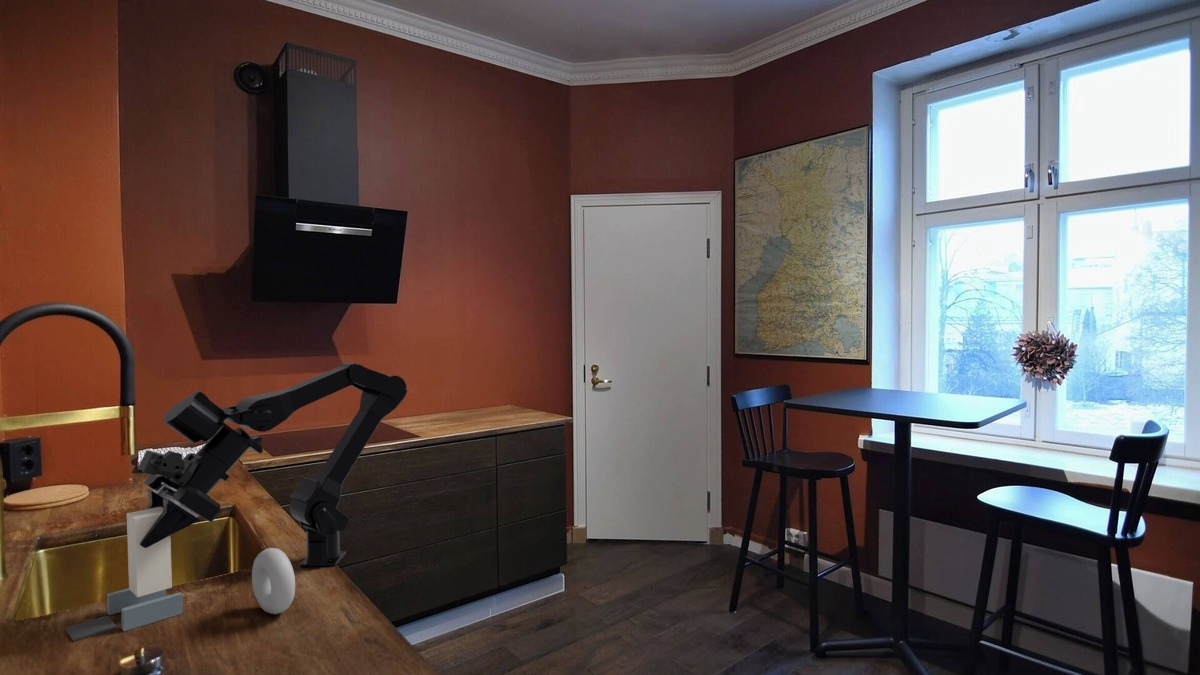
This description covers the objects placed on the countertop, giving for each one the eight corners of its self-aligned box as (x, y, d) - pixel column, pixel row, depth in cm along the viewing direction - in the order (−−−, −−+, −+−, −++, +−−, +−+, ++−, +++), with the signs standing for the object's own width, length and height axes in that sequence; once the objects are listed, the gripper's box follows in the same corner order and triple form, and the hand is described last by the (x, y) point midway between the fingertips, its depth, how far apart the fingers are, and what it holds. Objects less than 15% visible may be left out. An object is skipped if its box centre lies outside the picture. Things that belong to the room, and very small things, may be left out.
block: (163, 580, 101) (160, 506, 101) (172, 587, 98) (169, 511, 98) (129, 589, 98) (126, 513, 97) (137, 597, 95) (134, 518, 94)
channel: (163, 596, 103) (163, 578, 103) (182, 613, 97) (182, 594, 97) (107, 612, 98) (107, 593, 97) (123, 631, 91) (123, 611, 91)
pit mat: (107, 617, 96) (107, 615, 96) (116, 628, 92) (116, 626, 92) (65, 629, 92) (65, 627, 92) (73, 641, 89) (73, 639, 89)
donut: (248, 607, 99) (247, 544, 99) (270, 600, 102) (269, 539, 102) (277, 625, 93) (276, 559, 93) (300, 617, 96) (299, 552, 95)
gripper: (156, 424, 106) (75, 504, 98) (194, 436, 94) (106, 528, 86) (210, 462, 112) (137, 540, 104) (252, 478, 100) (174, 567, 92)
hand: (137, 543), depth 97 cm, fingers closed on block, 4 cm apart
